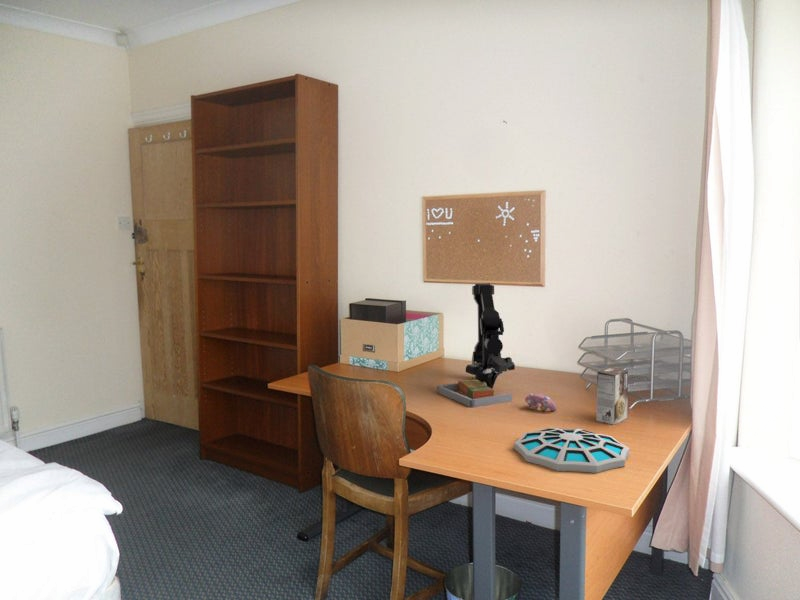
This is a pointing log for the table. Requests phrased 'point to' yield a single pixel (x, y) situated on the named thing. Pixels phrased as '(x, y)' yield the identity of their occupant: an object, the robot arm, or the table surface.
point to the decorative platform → (572, 450)
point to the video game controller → (543, 400)
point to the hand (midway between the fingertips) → (490, 389)
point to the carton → (474, 389)
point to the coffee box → (612, 395)
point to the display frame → (449, 392)
